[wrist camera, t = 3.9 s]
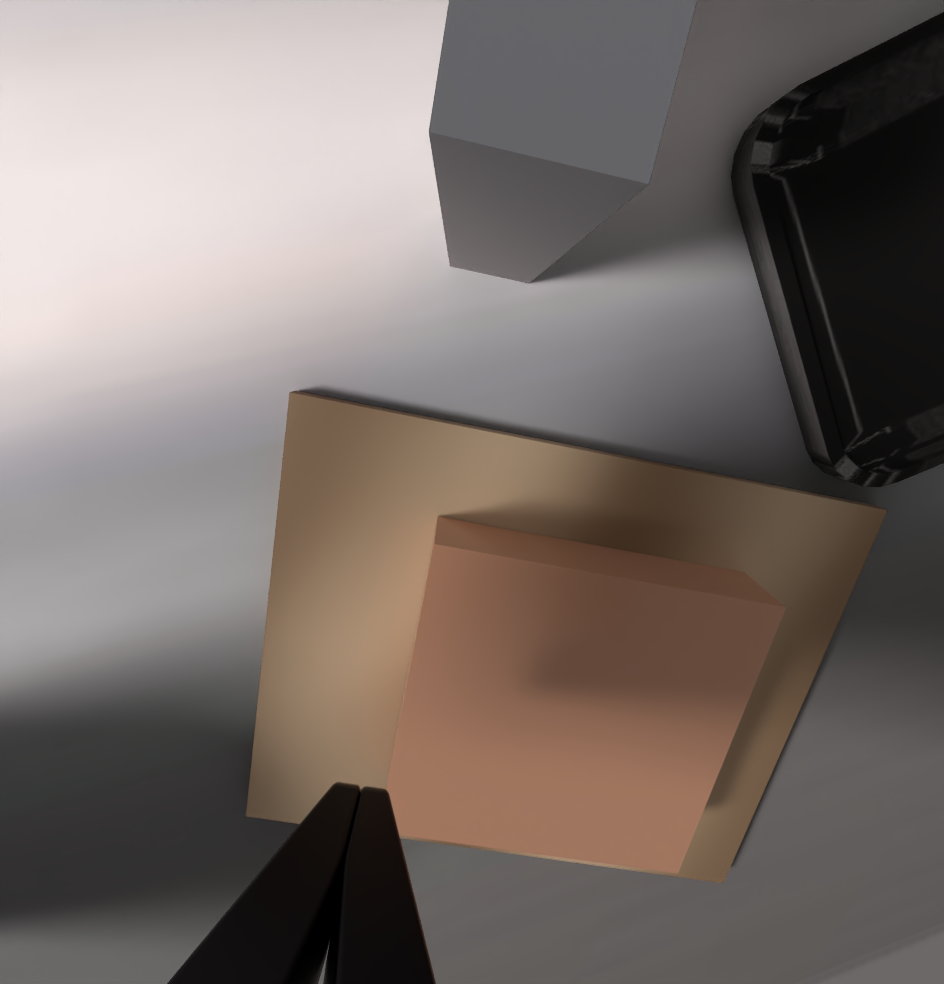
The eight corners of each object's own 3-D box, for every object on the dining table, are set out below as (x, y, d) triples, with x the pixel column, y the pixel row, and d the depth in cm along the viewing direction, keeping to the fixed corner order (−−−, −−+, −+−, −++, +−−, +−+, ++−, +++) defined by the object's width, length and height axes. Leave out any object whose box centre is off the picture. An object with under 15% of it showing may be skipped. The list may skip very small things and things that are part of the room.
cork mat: (874, 504, 12) (887, 510, 11) (716, 868, 15) (723, 883, 14) (295, 390, 11) (289, 392, 11) (252, 803, 14) (245, 816, 14)
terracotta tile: (437, 515, 11) (743, 571, 12) (388, 773, 13) (653, 812, 14) (433, 544, 10) (786, 606, 10) (377, 832, 12) (678, 873, 12)
